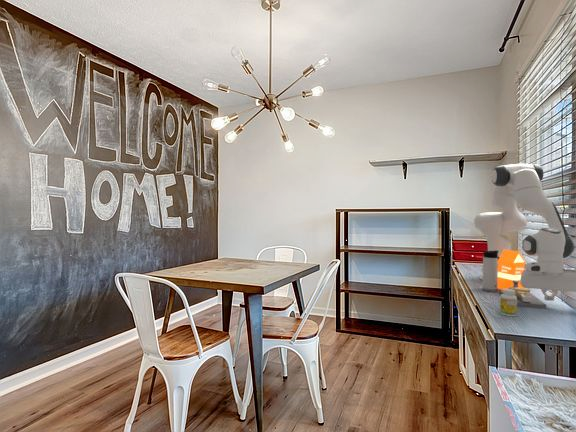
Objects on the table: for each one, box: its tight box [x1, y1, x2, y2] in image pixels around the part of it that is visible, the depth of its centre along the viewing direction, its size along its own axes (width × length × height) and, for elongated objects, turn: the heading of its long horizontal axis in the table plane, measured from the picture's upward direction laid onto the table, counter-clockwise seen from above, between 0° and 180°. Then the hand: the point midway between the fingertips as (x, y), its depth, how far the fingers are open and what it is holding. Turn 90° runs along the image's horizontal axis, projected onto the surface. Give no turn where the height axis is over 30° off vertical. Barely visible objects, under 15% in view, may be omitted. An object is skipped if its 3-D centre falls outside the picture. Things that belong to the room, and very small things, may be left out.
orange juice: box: [497, 249, 526, 290], centre depth 170 cm, size 8×9×20 cm
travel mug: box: [482, 250, 499, 293], centre depth 168 cm, size 6×7×20 cm
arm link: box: [511, 280, 531, 302], centre depth 150 cm, size 21×4×5 cm, turn 158°
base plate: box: [499, 289, 547, 310], centre depth 151 cm, size 23×12×2 cm, turn 159°
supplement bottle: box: [499, 289, 518, 317], centre depth 130 cm, size 5×5×10 cm
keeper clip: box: [509, 287, 531, 296], centre depth 149 cm, size 4×7×4 cm, turn 69°
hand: (549, 300), depth 141 cm, fingers closed
